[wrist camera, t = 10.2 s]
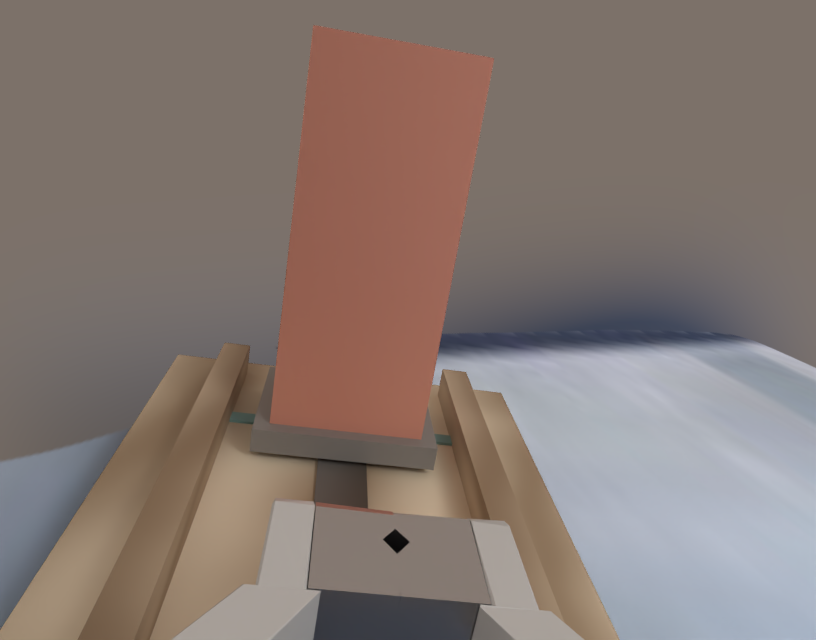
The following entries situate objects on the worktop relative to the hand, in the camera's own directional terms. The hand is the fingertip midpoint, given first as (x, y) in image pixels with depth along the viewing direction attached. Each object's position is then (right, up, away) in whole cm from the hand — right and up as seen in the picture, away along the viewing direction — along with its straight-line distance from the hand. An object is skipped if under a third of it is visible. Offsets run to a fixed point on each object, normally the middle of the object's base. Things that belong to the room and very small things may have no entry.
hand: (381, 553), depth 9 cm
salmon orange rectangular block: (-2, -1, +15) cm, 16 cm away
